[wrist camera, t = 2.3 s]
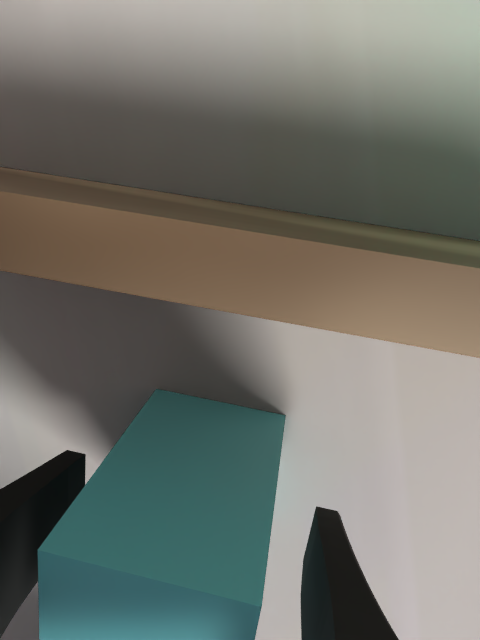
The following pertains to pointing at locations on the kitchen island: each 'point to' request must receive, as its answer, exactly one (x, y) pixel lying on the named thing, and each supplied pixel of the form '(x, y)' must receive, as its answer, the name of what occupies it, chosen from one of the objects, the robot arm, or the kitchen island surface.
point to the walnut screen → (244, 259)
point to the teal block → (168, 529)
